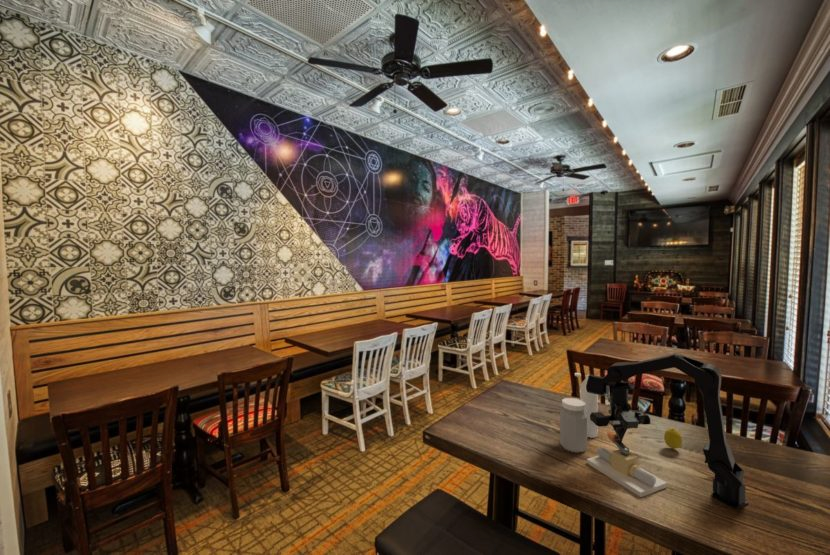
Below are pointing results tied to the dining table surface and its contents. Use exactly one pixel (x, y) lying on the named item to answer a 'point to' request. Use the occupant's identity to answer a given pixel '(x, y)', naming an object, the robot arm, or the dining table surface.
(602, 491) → the dining table surface
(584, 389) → the water bottle
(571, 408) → the jar
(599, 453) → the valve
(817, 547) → the dining table surface
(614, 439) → the lever
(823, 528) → the dining table surface
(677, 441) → the lemon
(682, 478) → the dining table surface
